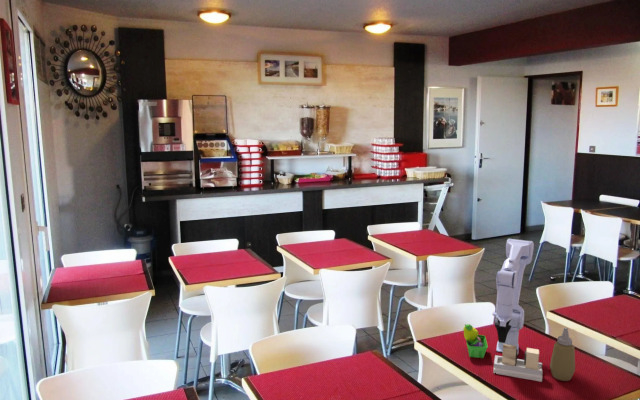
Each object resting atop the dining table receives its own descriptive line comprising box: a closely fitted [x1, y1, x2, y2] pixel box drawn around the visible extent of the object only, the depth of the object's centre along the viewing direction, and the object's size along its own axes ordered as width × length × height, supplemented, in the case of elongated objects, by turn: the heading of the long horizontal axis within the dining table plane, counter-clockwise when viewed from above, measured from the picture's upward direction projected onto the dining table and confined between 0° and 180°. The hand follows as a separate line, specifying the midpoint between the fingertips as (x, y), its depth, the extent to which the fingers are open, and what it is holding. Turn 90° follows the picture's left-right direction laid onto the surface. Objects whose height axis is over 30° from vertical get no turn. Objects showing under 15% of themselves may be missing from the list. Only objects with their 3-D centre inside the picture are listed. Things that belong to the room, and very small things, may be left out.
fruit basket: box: [462, 323, 489, 359], centre depth 204 cm, size 11×9×11 cm
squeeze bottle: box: [549, 327, 576, 382], centre depth 184 cm, size 8×8×18 cm
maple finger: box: [501, 344, 519, 366], centre depth 190 cm, size 4×5×7 cm
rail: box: [492, 347, 543, 383], centre depth 189 cm, size 10×16×8 cm, turn 69°
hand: (502, 338), depth 195 cm, fingers open, 7 cm apart
